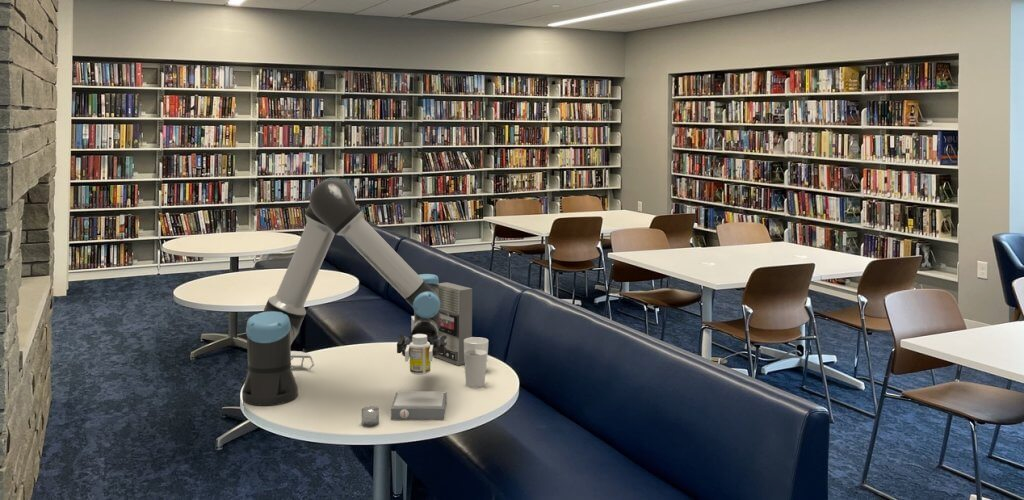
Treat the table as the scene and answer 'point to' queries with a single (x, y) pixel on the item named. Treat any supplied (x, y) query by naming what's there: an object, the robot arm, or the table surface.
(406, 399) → the scale
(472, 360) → the drinking glass
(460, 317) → the cassette tape recorder
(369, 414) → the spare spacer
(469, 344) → the white cup
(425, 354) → the supplement bottle
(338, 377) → the table surface
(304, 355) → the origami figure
